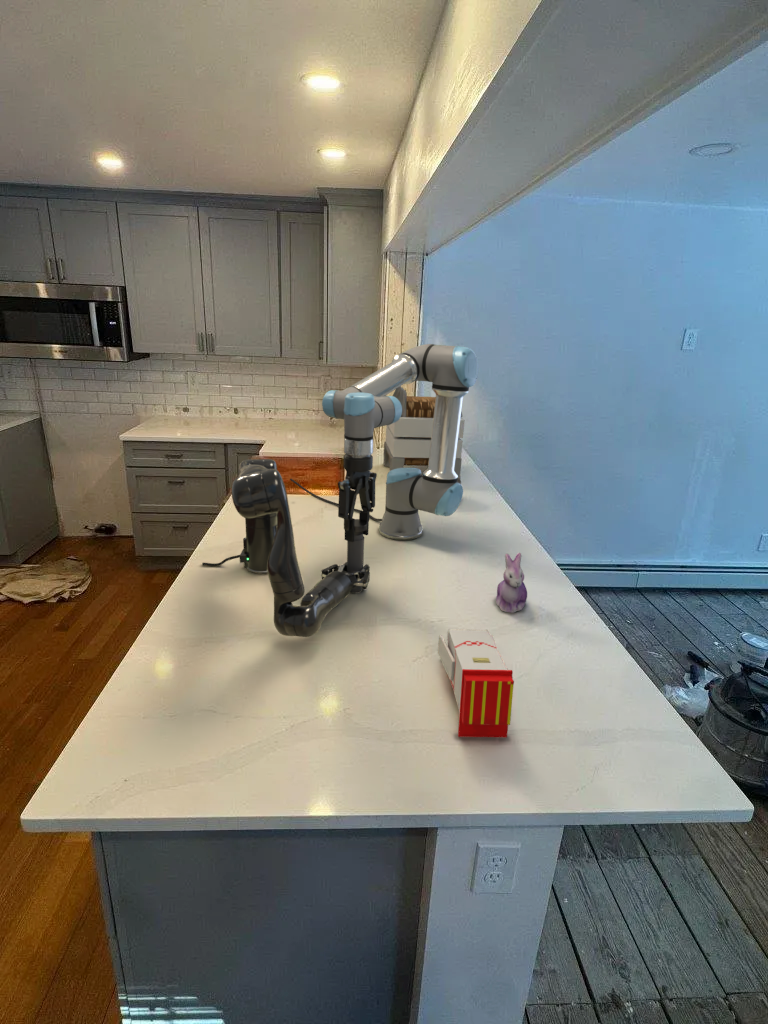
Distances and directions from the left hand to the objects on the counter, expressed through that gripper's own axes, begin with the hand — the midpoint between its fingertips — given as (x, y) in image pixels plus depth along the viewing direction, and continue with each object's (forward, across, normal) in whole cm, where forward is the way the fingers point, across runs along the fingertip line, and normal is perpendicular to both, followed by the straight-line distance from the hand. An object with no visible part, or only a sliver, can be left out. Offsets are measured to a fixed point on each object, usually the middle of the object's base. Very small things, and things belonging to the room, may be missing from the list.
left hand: (358, 565), depth 160 cm
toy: (-33, -41, +6) cm, 53 cm away
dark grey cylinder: (-3, 0, +6) cm, 7 cm away
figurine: (+8, -42, +6) cm, 43 cm away
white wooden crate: (+120, +24, +6) cm, 123 cm away
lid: (-2, 0, -14) cm, 14 cm away
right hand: (-2, 0, -10) cm, 10 cm away
